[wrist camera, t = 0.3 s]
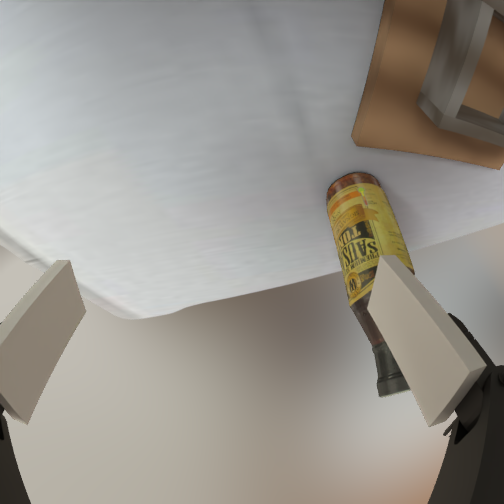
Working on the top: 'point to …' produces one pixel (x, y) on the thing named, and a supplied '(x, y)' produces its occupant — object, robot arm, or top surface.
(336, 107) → the top surface
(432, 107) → the socket block
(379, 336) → the sauce bottle
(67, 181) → the top surface
